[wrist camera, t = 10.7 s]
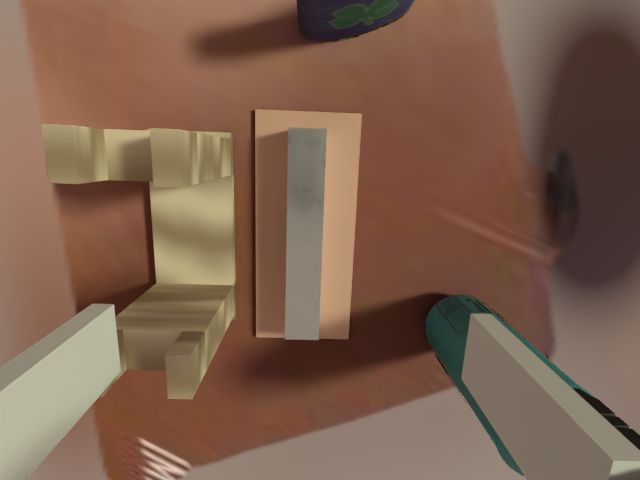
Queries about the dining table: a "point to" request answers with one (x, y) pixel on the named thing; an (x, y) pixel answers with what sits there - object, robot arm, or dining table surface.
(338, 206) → the mat
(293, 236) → the rail
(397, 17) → the flask
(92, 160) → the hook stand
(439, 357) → the beverage bottle
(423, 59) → the dining table surface
